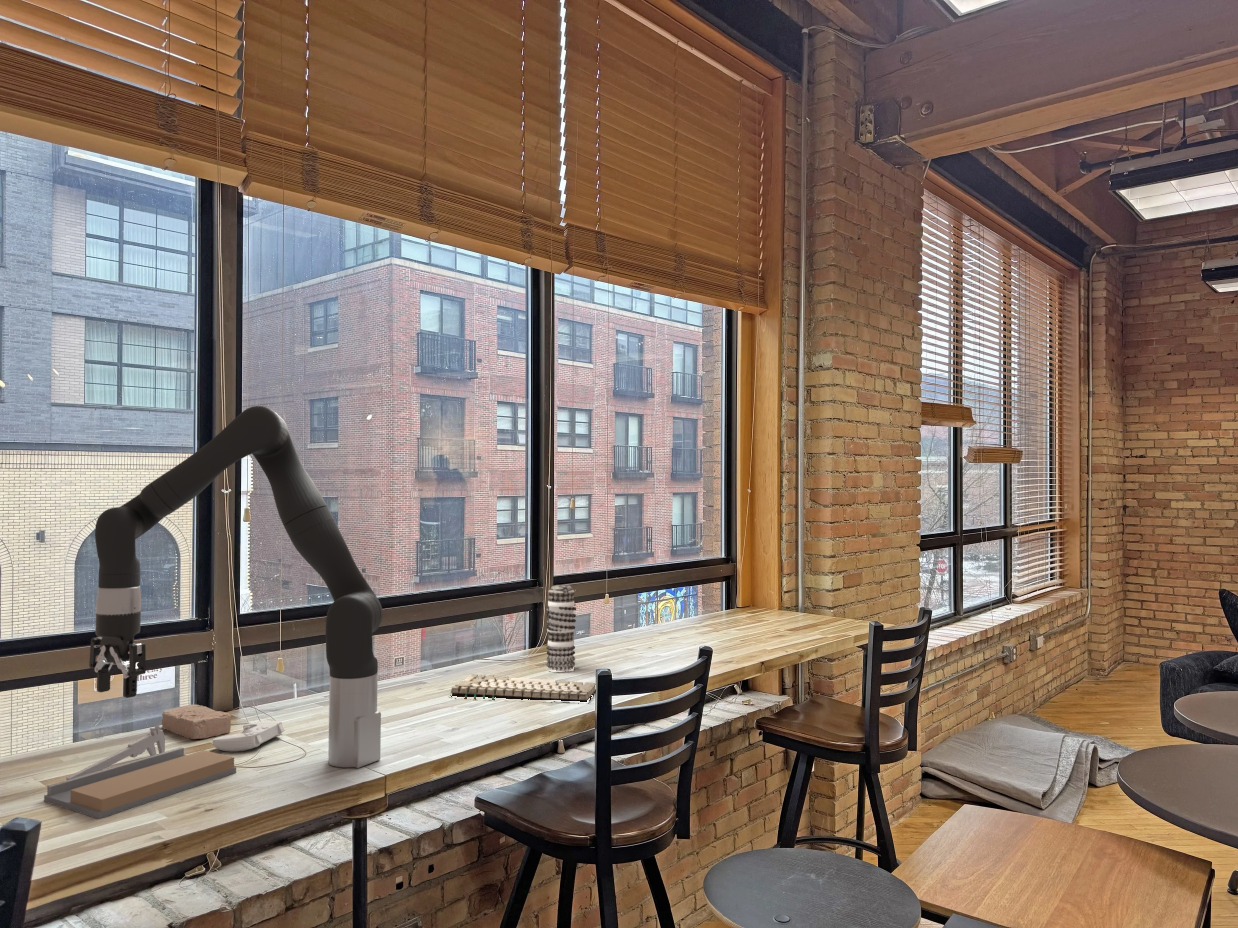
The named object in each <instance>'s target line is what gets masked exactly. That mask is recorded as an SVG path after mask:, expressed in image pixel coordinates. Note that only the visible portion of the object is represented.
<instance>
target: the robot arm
mask: <svg viewBox="0 0 1238 928" xmlns="http://www.w3.org/2000/svg"><path fill="white" fill-rule="evenodd" d="M249 455H252V456H253V457H254V458H255V461H257V463H258V464H259V466H260V467H261V469H262V471H263V473H264V474H265V476H266V478H267V481H268V482H269V484H270V487H271V490H272V494H273V499H274V503H275V506H276V511H277V513H278V515H279V519H280V520H281V523H282V525H283V527H284V529H285V531H286V533H287V535H288V537H289V540H290V541H291V543H292V545H293V547H294V548H295V549H296V551H297V552H298V553H299V554H300V555H301V557H302V558H303V559H304V560H305V561H306V563H308V564H309V565H310V566H311V567H312V569H313V570H314V571H315V572H316V573H317V574H318V575H319V577H321V578H322V580H323V582H324V584H325V585H326V587H327V588H328V591H329V592H330V595H331V597H332V600H333V602H332V603H331V604H330V606H329V608H328V610H327V613H326V617H325V655H326V662H327V665H328V666H329V667H328V669H329V684H328V686H329V690H328V691H329V692H328V693H329V695H328V698H329V701H328V751H327V752H328V755H327V757H328V760H327V762H328V764H329V765H330V766H333V767H336V768H357V769H359V768H361V767H365V766H367V765H369V764H372V763H375V762H376V761H380V760H381V750H382V749H381V747H382V746H381V743H382V742H381V741H382V740H381V737H382V736H381V735H382V733H381V732H382V731H381V730H382V713H381V712H380V711H378V685H379V683H378V681H379V680H378V678H379V677H378V675H379V674H378V672H379V671H378V670H379V662H378V659H377V657H376V656H375V655H374V652H373V648H374V647H373V633H375V632H376V631H377V630H378V629H379V628H380V626H381V625H382V621H383V615H384V613H383V611H384V610H383V606H382V604H381V602H380V600H379V598H378V597H377V595H376V594H375V592H374V590H373V588H371V586H370V585H369V583H368V582H367V580H366V578H365V577H364V576H363V574H362V571H360V569H359V567H358V565H357V563H356V562H355V560H354V558H353V556H352V553H351V551H350V549H349V547H348V545H347V543H346V540H345V539H344V537H343V535H342V533H341V531H340V529H339V526H338V524H337V522H336V520H335V518H334V516H333V513H332V512H331V510H330V508H329V506H328V505H327V503H326V501H325V499H324V497H323V496H322V494H321V492H320V490H319V489H318V487H317V485H316V484H315V483H314V480H312V478H311V477H310V475H309V474H308V472H307V471H306V468H305V467H304V465H303V463H302V461H301V459H300V456H299V454H298V452H297V449H296V447H295V443H294V441H293V439H292V435H291V433H290V430H289V427H288V424H287V423H286V421H285V419H283V418H282V416H281V415H279V414H278V413H277V412H276V411H275V410H273V409H272V408H270V407H267V406H264V405H263V406H262V405H255V406H250V407H248V408H246V409H244V410H243V411H242V412H240V414H238V415H237V416H236V417H235V418H234V419H233V420H231V422H230V423H228V425H226V426H225V427H224V428H223V429H222V430H221V431H220V432H219V433H217V434H216V435H215V436H214V437H213V438H212V439H210V441H208V442H207V443H206V444H205V445H203V446H202V447H200V448H199V449H198V450H196V452H194V453H193V454H191V455H190V456H189V457H187V458H185V460H183V461H181V462H180V463H179V464H177V465H175V466H174V467H173V468H171V469H169V470H168V471H166V472H164V473H163V474H162V475H160V476H159V477H157V478H155V479H154V480H152V481H151V482H150V483H148V484H147V485H146V486H145V487H144V488H142V489H141V490H140V493H139V494H137V495H136V496H135V497H133V498H131V499H130V500H128V501H127V502H126V503H124V504H123V505H120V506H118V507H111V508H108V509H105V510H104V511H103V512H102V513H100V515H99V516H98V517H97V520H96V523H95V526H94V527H95V528H94V540H95V546H96V554H97V559H98V562H99V564H98V565H99V566H98V580H97V581H98V586H97V587H98V588H97V594H96V601H95V602H96V603H95V631H94V632H95V633H94V634H95V635H96V637H92V638H90V645H89V646H90V648H89V661H88V663H89V665H88V666H89V668H90V669H94V672H95V673H96V692H98V693H105V692H108V691H110V690H111V671H110V670H111V668H112V667H113V665H114V664H115V665H116V666H117V669H119V670H120V671H121V673H122V675H123V677H124V678H123V683H122V684H123V685H122V686H123V689H122V691H123V692H122V696H123V698H127V699H128V698H133V697H135V696H137V693H138V677H140V676H141V675H144V674H146V672H147V670H146V669H147V668H146V666H147V659H146V652H147V651H146V643H145V642H138V643H136V642H135V636H136V635H137V634H140V632H141V621H142V620H141V617H142V593H141V563H140V562H141V561H140V559H139V558H138V557H137V555H136V554H137V553H136V552H137V551H136V549H137V548H136V540H137V539H138V538H140V537H141V536H144V534H146V533H147V532H148V531H149V530H151V529H152V528H154V527H155V526H156V525H157V524H159V522H161V521H162V520H163V519H164V518H165V517H167V516H169V515H171V514H172V513H174V512H175V511H177V510H178V509H180V508H182V507H183V506H185V504H187V503H188V502H190V501H191V500H193V499H194V498H196V497H197V496H198V495H200V494H201V493H202V492H203V491H204V490H205V489H206V488H207V487H209V486H210V484H212V482H213V481H215V480H216V478H217V477H218V476H220V475H221V474H222V473H223V472H224V471H225V470H226V469H228V468H229V467H231V466H232V465H234V464H235V463H237V462H238V461H240V460H242V459H244V458H246V457H247V456H249ZM138 663H139V667H138Z"/></svg>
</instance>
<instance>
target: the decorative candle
mask: <svg viewBox="0 0 1238 928" xmlns="http://www.w3.org/2000/svg"><path fill="white" fill-rule="evenodd" d="M547 592H548V601H547V607H546V608H545V612H546V614H545V616H546V617H547V620H546V624H547V625H546V631H547V632H548V634H547V636H548V640H547V646H546V650H547V651H546V655H548V656H547V657H546V658H545V660H546V664H545V665H546V668H547V667H548V668H549V669H551V670H556V671H569V670H571V669H573V667H574V668H575V666H576V662H575V661H576V657H575V656H574V655H575V654H576V652H575V651H576V650H575V649H576V646H575V639H574V637H575V635H574V633H575V631H576V626H575V625H574V623H576V621H577V619H575V618H576V617H577V614H576V613H574V612H576V610H577V607H576V606H577V604H576V603H575V598H574V597H575V596H574V595H575V590H574V589H573V588H572V586H571V585H567V584H556V585H552V586H551V588H550V589H549V590H548V591H547Z"/></svg>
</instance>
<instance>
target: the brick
mask: <svg viewBox="0 0 1238 928" xmlns="http://www.w3.org/2000/svg"><path fill="white" fill-rule="evenodd" d="M161 716H162V719H161V728H162V729H163V728H165V729H167V730H166V731H168V730H169V731H168V732H171V733H173V734H176V735H178V734H179V736H182V737H183V736H184V737H183V738H186V737H187V738H186V739H188V738H190V739H189V740H197V739H200V740H201V739H207V738H211V737H218V736H219V737H220V736H221V735H224V734H228V733H231V724H232V722H231V720H232V716H231V714H230V713H228V712H224V711H221V710H219V711H217V710H214V709H212V708H210V707H207V706H204V705H199V704H186V705H183V706H177V707H173V708H170V709H165V710H163V711H162V712H161ZM165 729H164V730H165Z"/></svg>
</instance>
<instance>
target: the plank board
mask: <svg viewBox="0 0 1238 928" xmlns="http://www.w3.org/2000/svg"><path fill="white" fill-rule="evenodd" d="M236 773H237V767H236V766H235V757H233V756H229V755H226V754H222V753H217V752H213V751H208V750H204V749H203V750H199V751H197V752H192V753H189V754H187V755H186V754H185V749H184V747H178V748H175V749H174V748H173V749H171V750H167V751H165V752H163V753H160V754H159V753H156V755H153V756H150V755H149V756H147V757H142V758H139V759H136V760H132V761H128V762H126V763H123V764H118V765H115V766H110V767H107V768H105V769H103V770H101V771H97V772H94V773H90V774H87V775H83V776H80V777H76V778H73V779H69V780H63V781H60V782H55V783H52V784H50V785H47V787H46V788H47V789H46V790H47V793H46V794H44V795H43V801H44V802H45V803H48V804H52V805H54V806H57V807H60V808H64V809H65V810H66V809H67V810H70V811H73V812H76V813H79V814H82V815H85V816H88V817H92V818H94V819H98V820H99V819H103V818H106V817H109V816H112V815H115V814H118V813H121V812H123V811H126V810H129V809H133V808H136V807H138V806H142V805H145V804H147V803H150V802H153V801H156V800H159V799H162V798H165V797H169V796H171V795H173V794H177V793H180V792H183V791H185V790H189V789H191V788H194V787H197V786H202V785H203V784H206V783H210V782H212V781H216V780H218V779H222V778H224V777H228V776H230V775H233V774H236Z"/></svg>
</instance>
